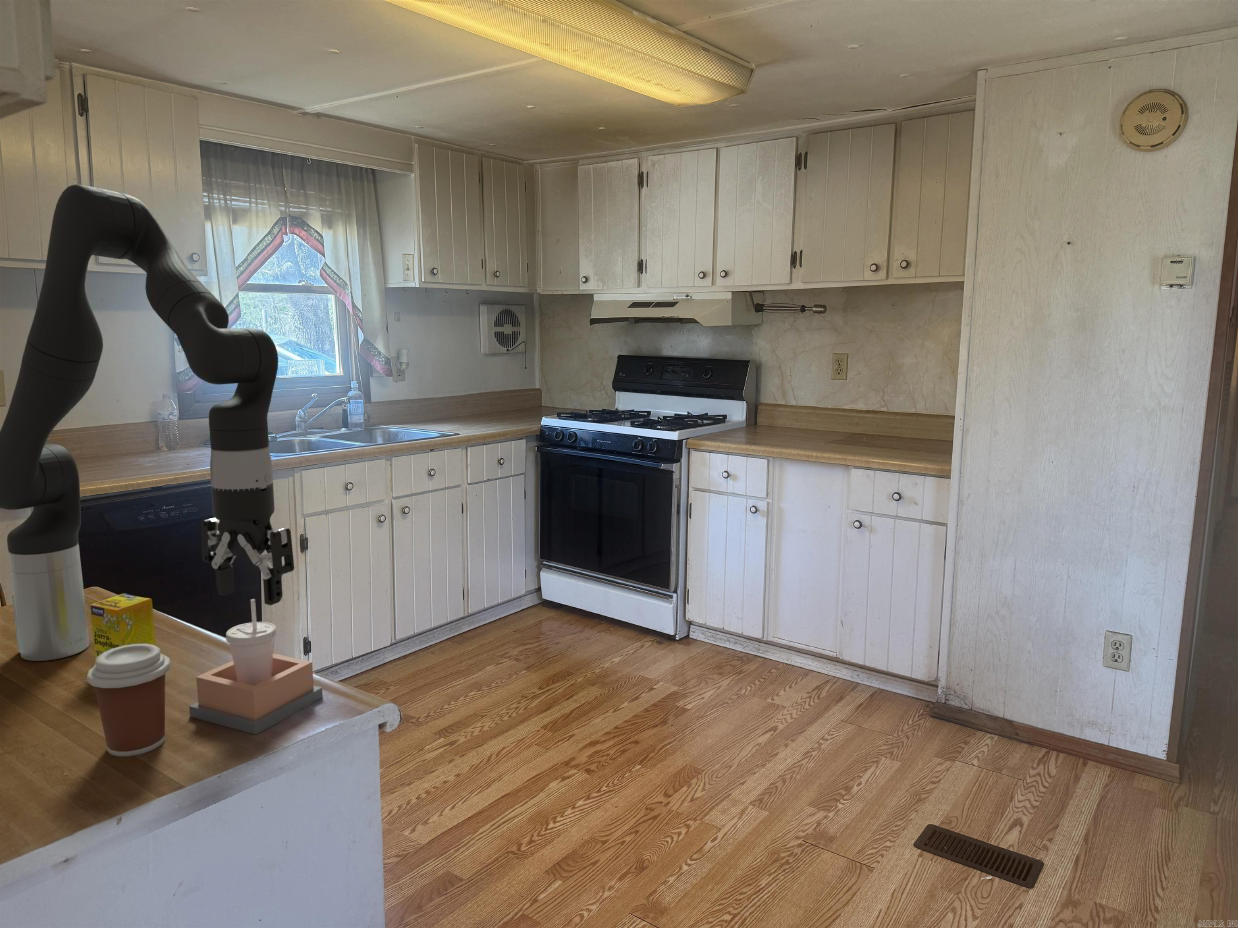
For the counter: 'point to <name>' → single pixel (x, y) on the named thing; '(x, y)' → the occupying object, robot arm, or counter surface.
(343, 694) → the counter surface
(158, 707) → the coffee cup
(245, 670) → the smoothie
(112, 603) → the supplement box
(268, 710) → the socket
